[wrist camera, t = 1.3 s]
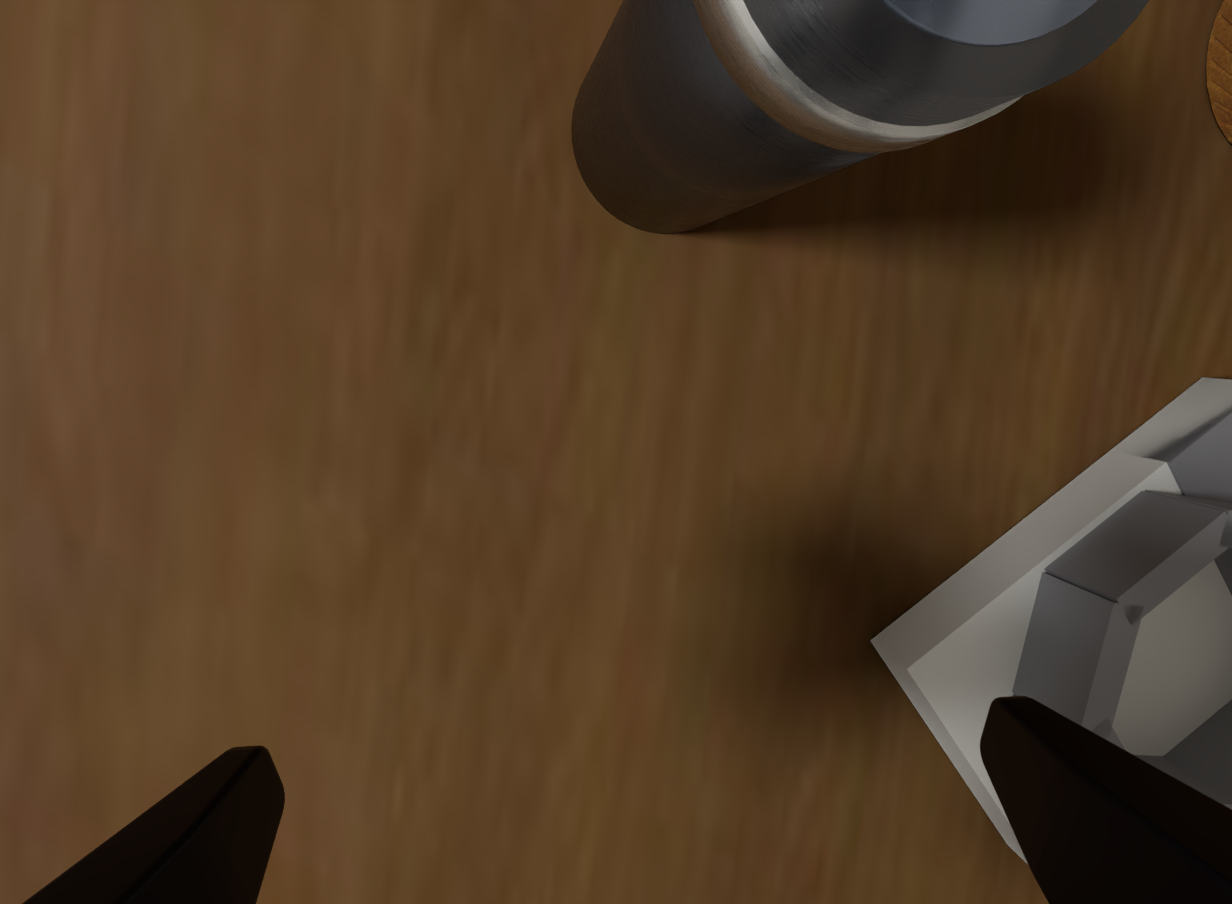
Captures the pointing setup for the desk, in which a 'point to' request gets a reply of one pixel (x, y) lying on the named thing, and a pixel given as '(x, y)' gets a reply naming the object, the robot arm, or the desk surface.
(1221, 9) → the disposable coffee cup
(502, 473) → the desk surface
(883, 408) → the desk surface
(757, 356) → the desk surface
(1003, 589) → the octagonal ring on plate
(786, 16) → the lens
